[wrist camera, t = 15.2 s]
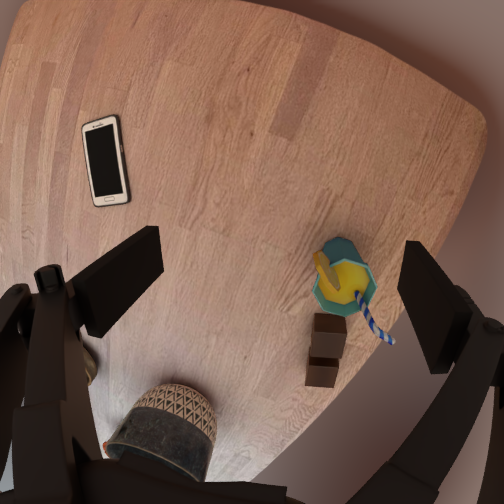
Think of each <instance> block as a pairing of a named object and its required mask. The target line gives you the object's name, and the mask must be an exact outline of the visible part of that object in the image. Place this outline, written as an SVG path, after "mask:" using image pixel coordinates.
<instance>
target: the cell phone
mask: <svg viewBox="0 0 504 504" xmlns="http://www.w3.org/2000/svg"><path fill="white" fill-rule="evenodd" d="M82 140H83V141H84V142H83V147H84V154H85V161H86V167H87V174H88V179H89V185H90V190H91V196H92V200H93V204H94V206H95V207H105V206H113V205H121V204H126V203H128V202H130V192H129V186H128V180H127V174H126V168H125V162H124V155H123V149H122V139H121V131H120V123H119V118H118V115H109V116H106V117H103V118H100V119H97V120H93V121H90V122H87V123H85V124H83V126H82Z"/></svg>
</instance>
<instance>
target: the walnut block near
mask: <svg viewBox="0 0 504 504" xmlns="http://www.w3.org/2000/svg"><path fill="white" fill-rule="evenodd" d="M346 337H347V328H346V320H345V317H343V316H340V315H330V314H318V313H315V314H314V321H313V328H312V334H311V349H310V356H311V357H324V358H339V359H341V358H342V354H343V350H344V346H345V341H346Z"/></svg>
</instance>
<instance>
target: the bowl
mask: <svg viewBox="0 0 504 504" xmlns="http://www.w3.org/2000/svg"><path fill="white" fill-rule="evenodd" d="M83 353H84V362H85V370H86V377H87V384H88V386H89V385H91V383H92V381H93V380H94V378H95V377H96V375H97V367H96V364H95V362H94V360H93V359H92V357H91V356H90V354H89V353H88V352H87V350H86V349H85V348H84V347H83Z"/></svg>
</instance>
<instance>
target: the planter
mask: <svg viewBox="0 0 504 504" xmlns="http://www.w3.org/2000/svg"><path fill="white" fill-rule="evenodd" d="M216 435H217V420H216V415H215V412H214V410H213V408H212V406H211V405H210V403H209V402H208V401H207V400H206V399H205V397H204V396H202V395H201V394H200V393H199V392H197V391H196V390H194V389H192V388H190V387H187V386H184V385H180V384H163V385H159V386H156V387H153V388H152V389H150V390H148V391H147V392H146V393H144V394H143V395H142V396H141V397H140V398H139V399H138V400H137V402H136V403H135V404H134V405H133V407H132V408H131V410H130V411H129V412H128V414H127V415H126V417H125V418H124V419H123V421H122V422H121V424H120V425H119V427H118V428H117V429H116V431H115V432H114V434H113V435H112V436H111V438H110V439H109V441H108V442H107V444H106V446H105V450H106V453H107V455H108V456H109V458H112V459H120V457H121V455H122V454H123V452H124V450H126V451H129V452H132V453H134V454H137V455H140V456H143V457H146V458H149V459H152V460H155V461H159V462H161V463H162V464H164V465H166V466H168V467H169V468H171V469H173V470H175V471H177V472H179V473H180V474H182V475H184V476H186V477H188V478H190V479H192V480H194V481H198V482H205V479H206V475H207V471H208V467H209V464H210V460H211V456H212V452H213V448H214V444H215V441H216Z"/></svg>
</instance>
